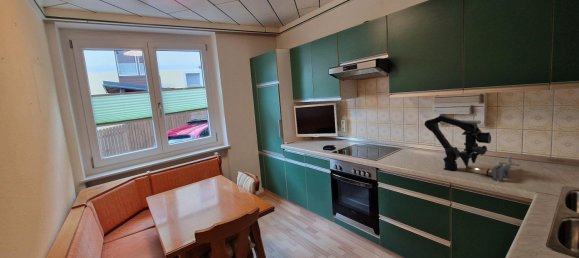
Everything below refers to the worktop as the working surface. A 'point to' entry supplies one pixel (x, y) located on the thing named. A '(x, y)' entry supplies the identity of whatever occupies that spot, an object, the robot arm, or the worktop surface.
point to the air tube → (479, 170)
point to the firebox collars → (500, 172)
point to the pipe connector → (509, 163)
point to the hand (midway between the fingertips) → (470, 164)
